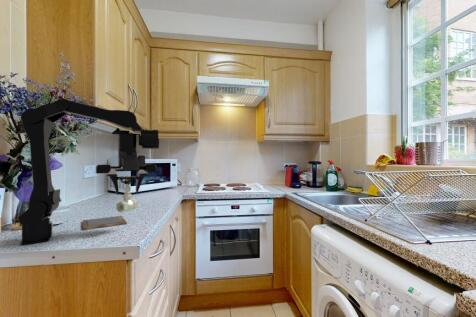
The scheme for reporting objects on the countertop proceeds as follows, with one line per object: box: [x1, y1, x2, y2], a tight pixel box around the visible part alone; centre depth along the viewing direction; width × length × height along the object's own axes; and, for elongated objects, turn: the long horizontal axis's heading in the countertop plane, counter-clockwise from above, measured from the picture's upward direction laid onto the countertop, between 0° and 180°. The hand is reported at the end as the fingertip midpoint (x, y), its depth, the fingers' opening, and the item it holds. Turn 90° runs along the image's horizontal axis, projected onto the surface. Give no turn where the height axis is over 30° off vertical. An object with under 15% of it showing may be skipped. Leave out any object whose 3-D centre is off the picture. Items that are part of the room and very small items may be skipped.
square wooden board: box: [82, 215, 128, 231], centre depth 93 cm, size 14×14×1 cm
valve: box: [115, 175, 139, 214], centre depth 82 cm, size 7×7×12 cm
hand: (127, 193), depth 82 cm, fingers closed on valve, 6 cm apart
